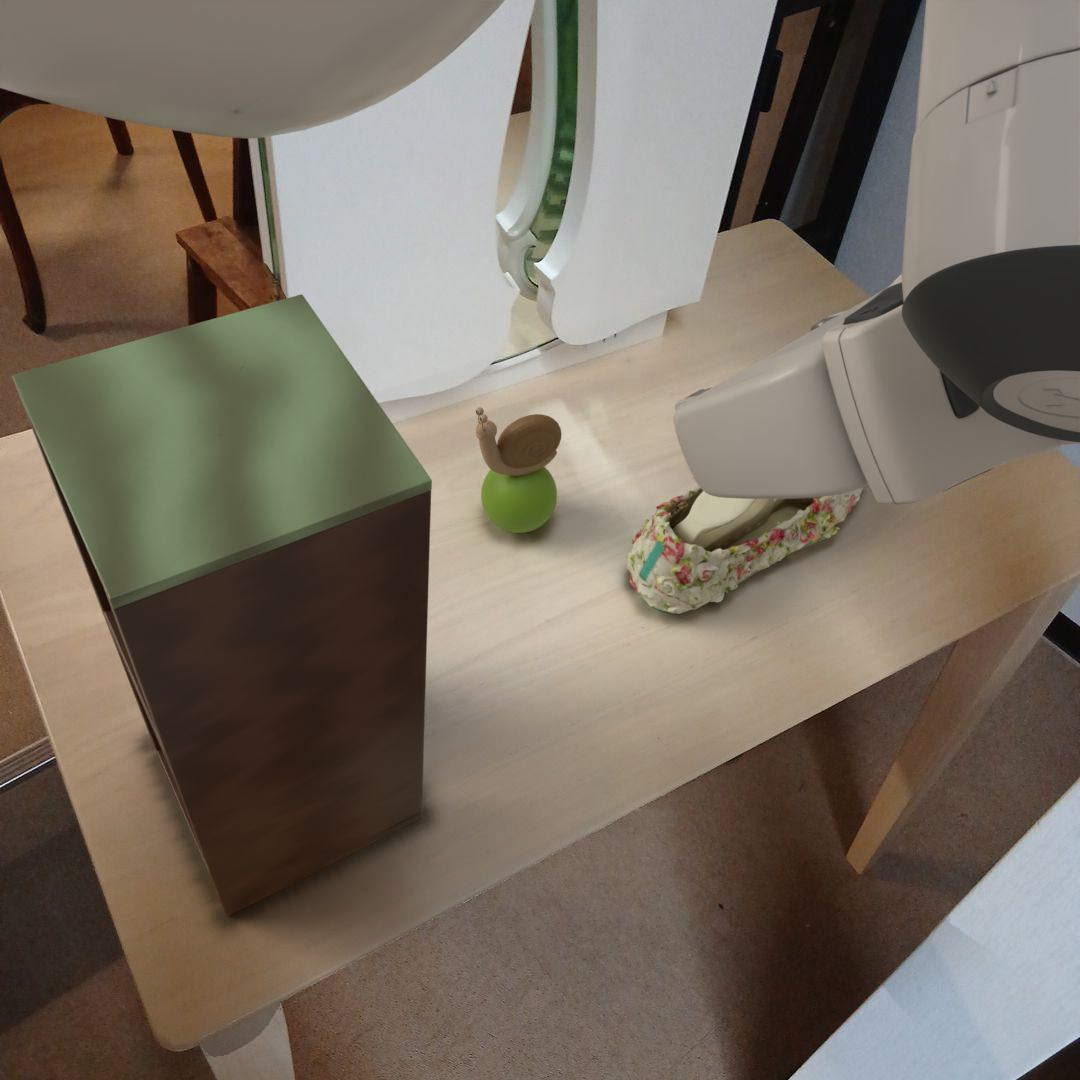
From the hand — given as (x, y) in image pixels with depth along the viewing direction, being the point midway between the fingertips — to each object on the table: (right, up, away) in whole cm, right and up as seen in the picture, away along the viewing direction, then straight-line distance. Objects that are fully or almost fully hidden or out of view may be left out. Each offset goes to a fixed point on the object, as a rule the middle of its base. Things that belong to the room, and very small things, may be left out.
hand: (759, 374), depth 51 cm
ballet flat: (+6, -7, +30) cm, 31 cm away
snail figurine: (-13, -7, +28) cm, 31 cm away
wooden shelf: (-26, -22, +13) cm, 36 cm away
